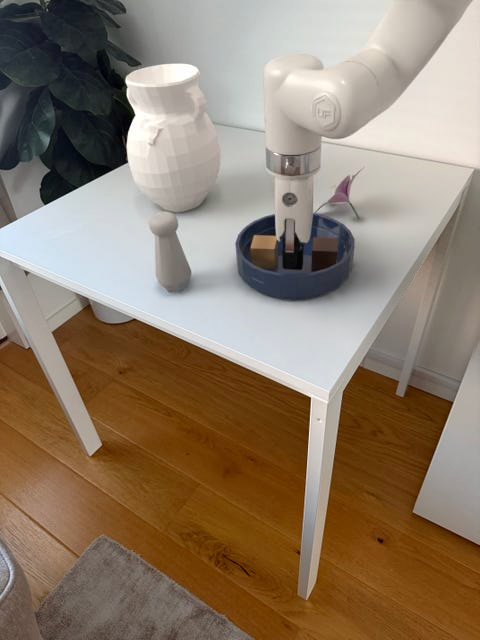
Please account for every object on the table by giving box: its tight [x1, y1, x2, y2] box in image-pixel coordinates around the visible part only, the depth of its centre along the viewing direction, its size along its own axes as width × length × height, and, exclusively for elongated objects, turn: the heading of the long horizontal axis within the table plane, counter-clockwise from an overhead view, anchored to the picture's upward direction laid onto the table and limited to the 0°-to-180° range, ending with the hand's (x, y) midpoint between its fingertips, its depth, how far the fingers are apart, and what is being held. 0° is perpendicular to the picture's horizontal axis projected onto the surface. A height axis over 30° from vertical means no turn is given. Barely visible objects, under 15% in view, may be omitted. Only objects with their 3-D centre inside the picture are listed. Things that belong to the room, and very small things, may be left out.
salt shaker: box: [148, 210, 192, 293], centre depth 76 cm, size 6×6×13 cm
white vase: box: [125, 63, 221, 213], centre depth 94 cm, size 19×18×25 cm
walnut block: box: [311, 237, 338, 271], centre depth 79 cm, size 4×4×4 cm
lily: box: [314, 166, 365, 220], centre depth 91 cm, size 12×12×10 cm
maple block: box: [250, 235, 278, 269], centre depth 81 cm, size 4×4×4 cm
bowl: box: [235, 212, 356, 301], centre depth 80 cm, size 19×19×5 cm
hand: (292, 266), depth 78 cm, fingers closed
